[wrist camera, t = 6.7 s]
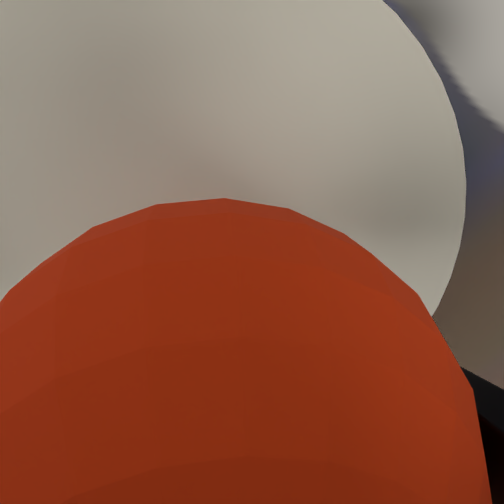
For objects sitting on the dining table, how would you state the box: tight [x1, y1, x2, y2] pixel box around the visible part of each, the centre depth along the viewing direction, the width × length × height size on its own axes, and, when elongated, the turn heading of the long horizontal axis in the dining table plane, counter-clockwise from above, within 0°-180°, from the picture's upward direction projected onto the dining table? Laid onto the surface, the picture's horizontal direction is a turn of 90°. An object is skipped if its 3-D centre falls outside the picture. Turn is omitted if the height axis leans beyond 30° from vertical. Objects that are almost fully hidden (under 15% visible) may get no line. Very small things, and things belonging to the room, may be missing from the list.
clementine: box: [0, 198, 492, 504], centre depth 7 cm, size 8×7×7 cm
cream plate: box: [0, 0, 466, 317], centre depth 14 cm, size 16×16×1 cm
